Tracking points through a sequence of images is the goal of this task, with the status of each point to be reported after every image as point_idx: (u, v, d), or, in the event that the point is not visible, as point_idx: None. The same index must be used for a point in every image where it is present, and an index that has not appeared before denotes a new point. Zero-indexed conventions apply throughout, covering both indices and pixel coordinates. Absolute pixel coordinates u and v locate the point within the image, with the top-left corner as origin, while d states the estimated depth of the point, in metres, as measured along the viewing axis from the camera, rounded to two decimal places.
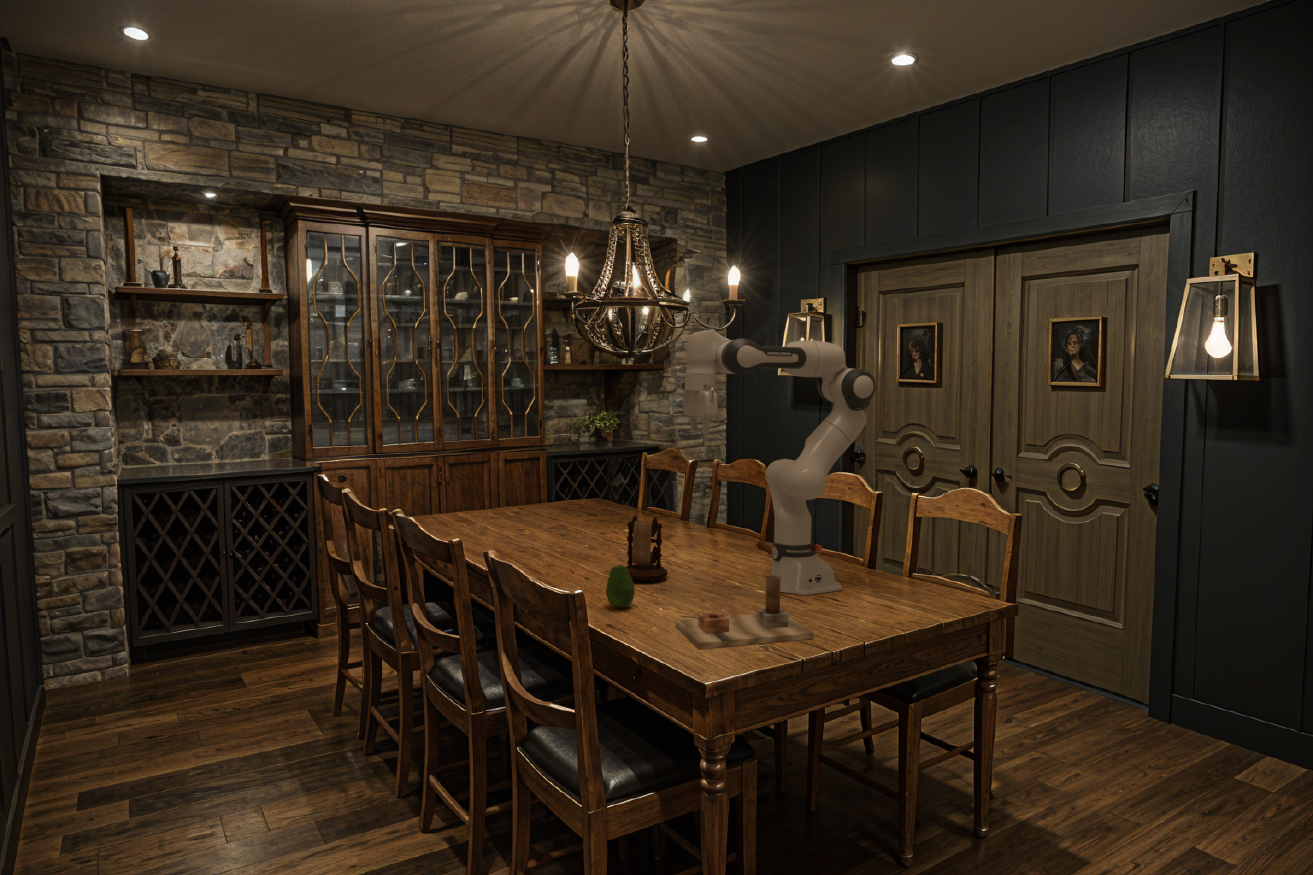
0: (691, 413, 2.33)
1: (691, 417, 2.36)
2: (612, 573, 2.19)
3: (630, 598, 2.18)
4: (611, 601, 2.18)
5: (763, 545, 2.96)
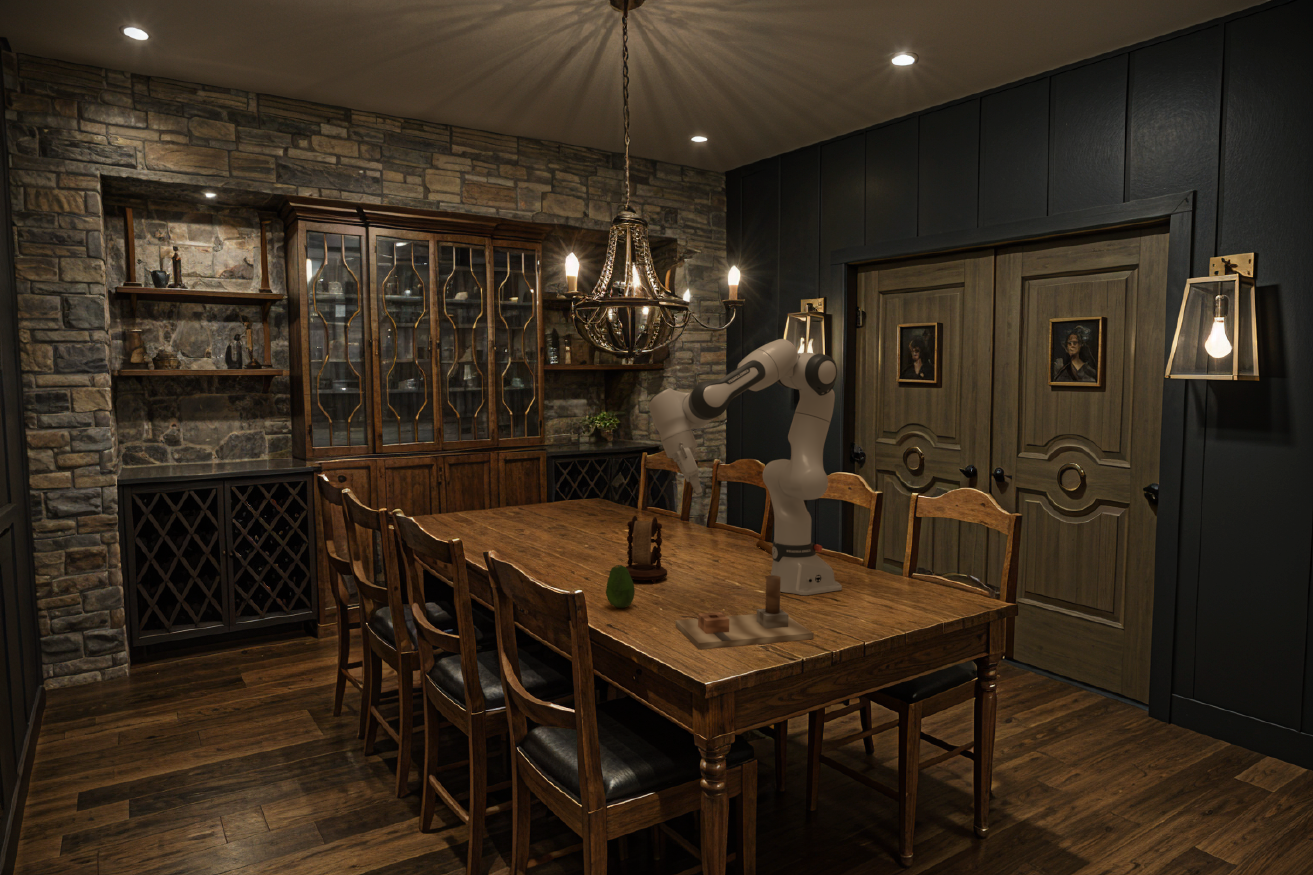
0: None
1: (691, 482, 2.21)
2: (612, 573, 2.19)
3: (630, 598, 2.18)
4: (611, 601, 2.18)
5: (763, 545, 2.96)
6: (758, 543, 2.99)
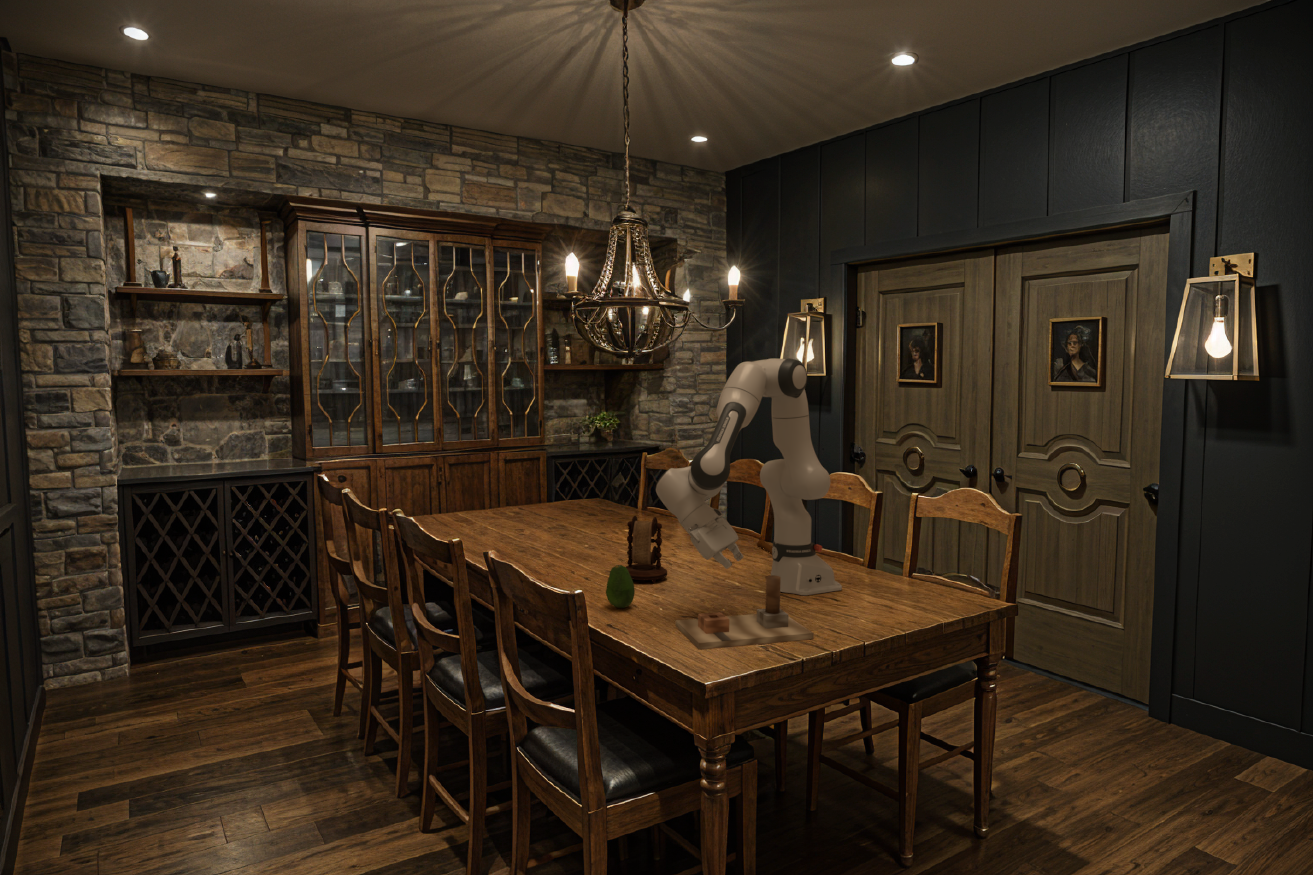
0: None
1: (729, 548, 2.12)
2: (612, 573, 2.19)
3: (630, 598, 2.18)
4: (611, 601, 2.18)
5: (764, 544, 2.97)
6: (759, 543, 3.00)
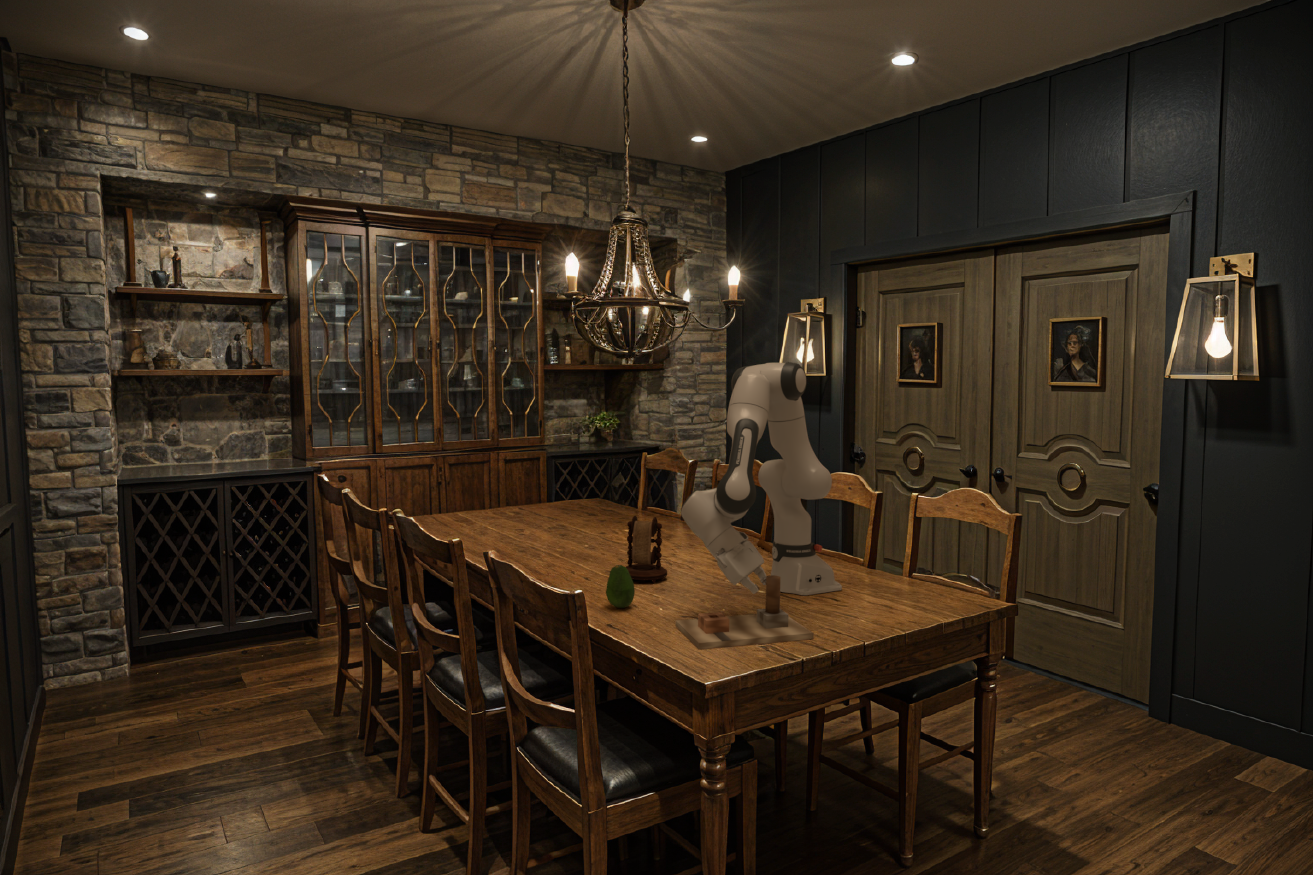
0: None
1: (755, 572, 2.09)
2: (612, 573, 2.19)
3: (630, 598, 2.18)
4: (611, 601, 2.18)
5: (764, 544, 2.97)
6: (759, 543, 3.00)
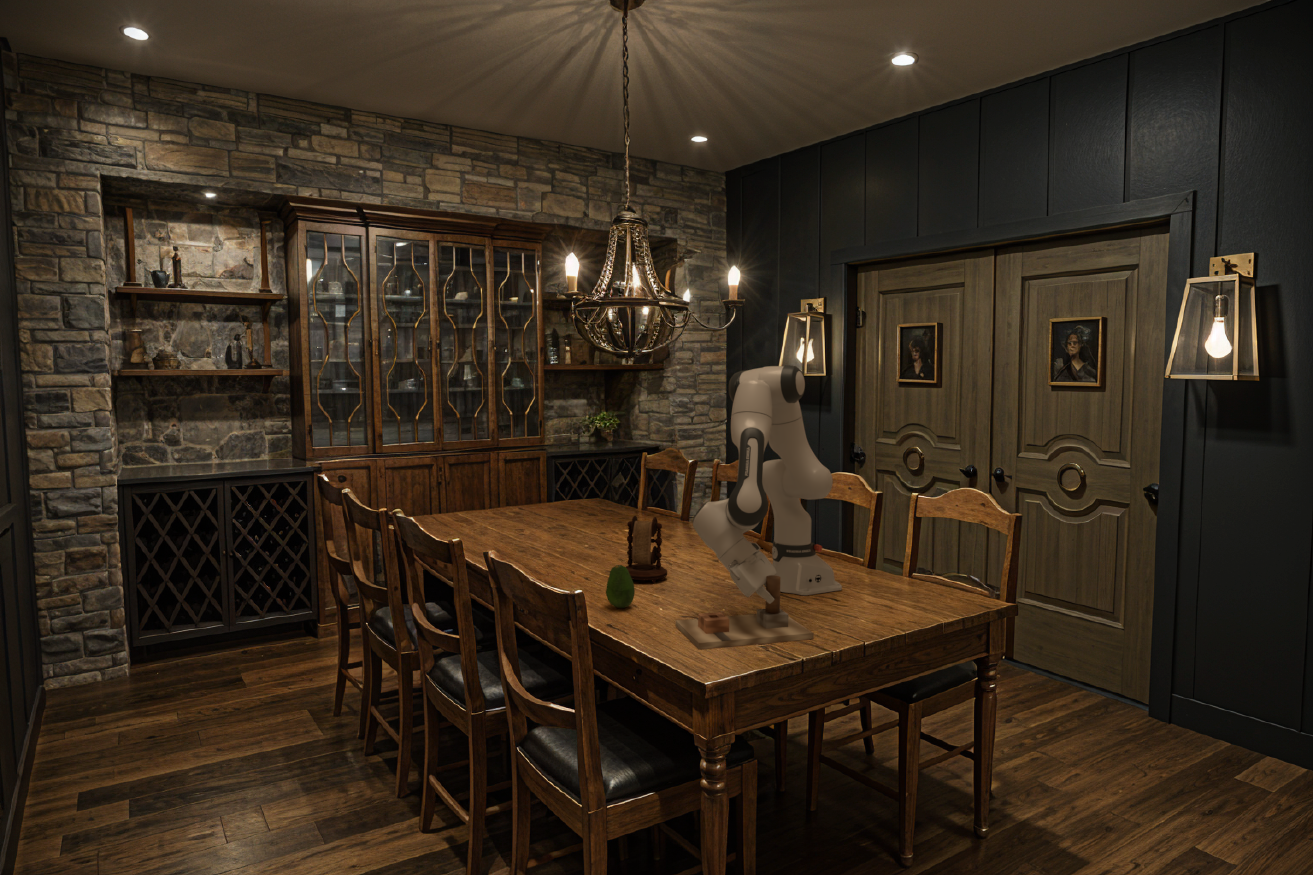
0: None
1: (765, 585, 2.06)
2: (612, 573, 2.19)
3: (630, 598, 2.18)
4: (611, 601, 2.18)
5: (763, 544, 2.97)
6: (757, 542, 3.00)
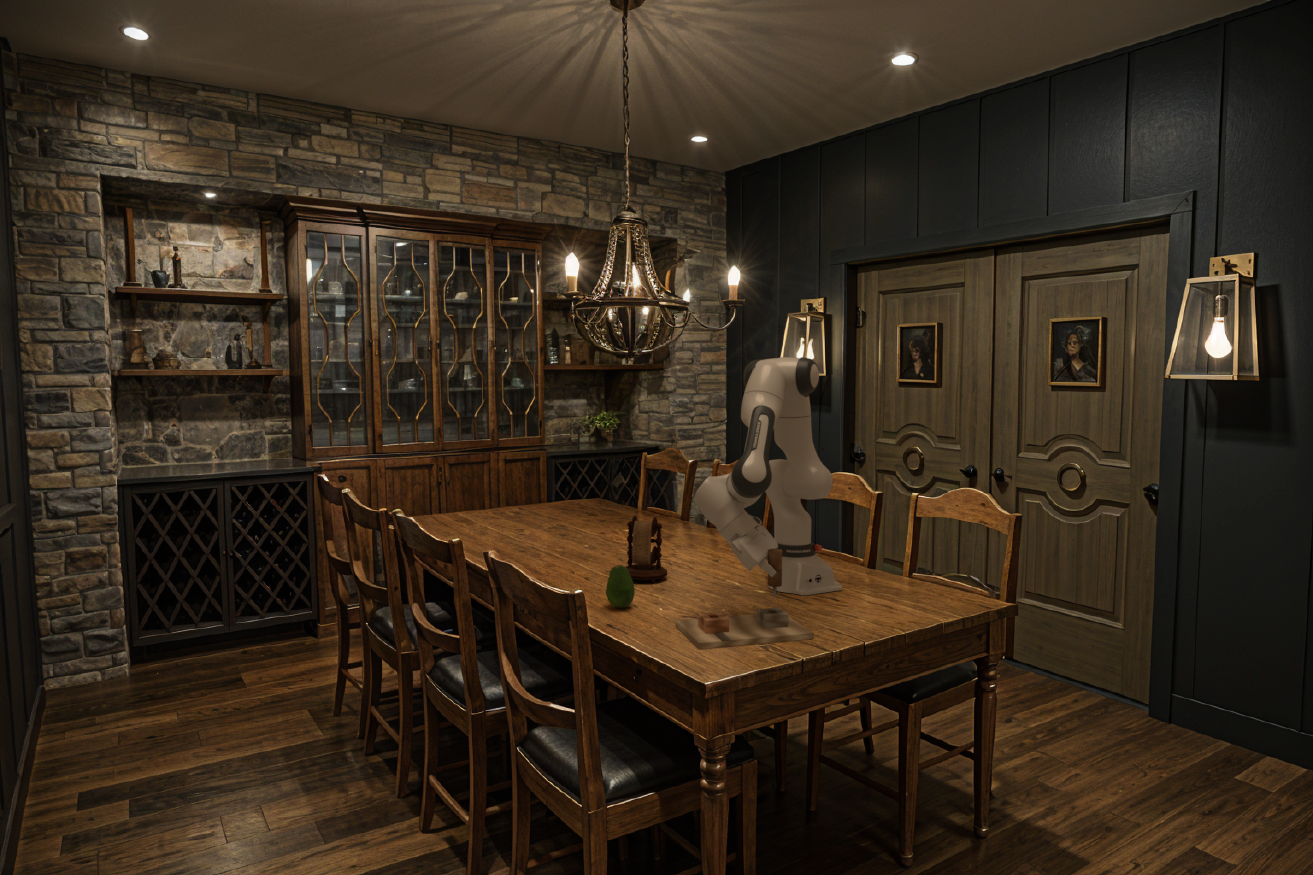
0: None
1: (767, 559, 2.06)
2: (612, 573, 2.19)
3: (630, 598, 2.18)
4: (611, 601, 2.18)
5: None
6: None
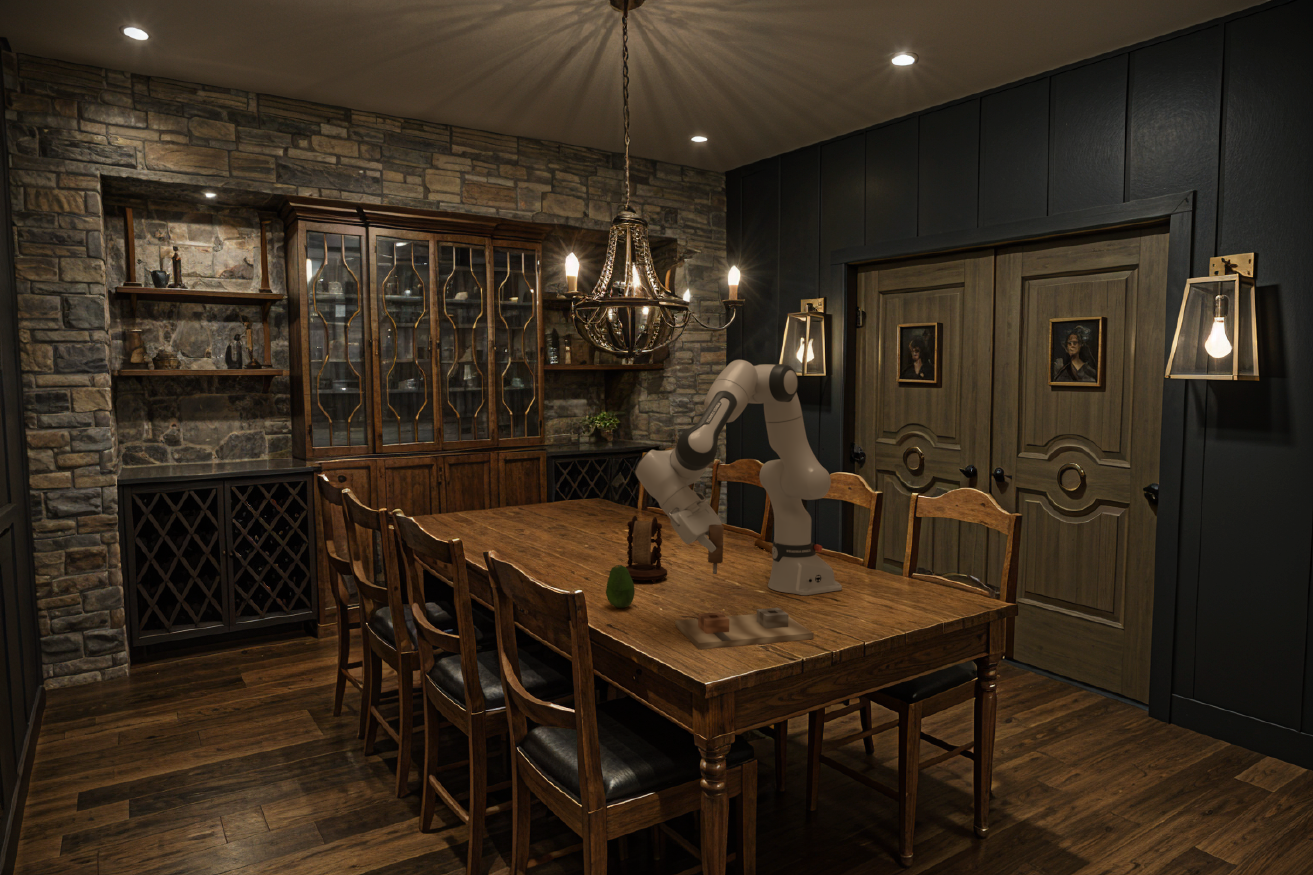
0: None
1: None
2: (612, 573, 2.19)
3: (630, 598, 2.18)
4: (611, 601, 2.18)
5: (762, 544, 2.98)
6: (756, 542, 3.00)
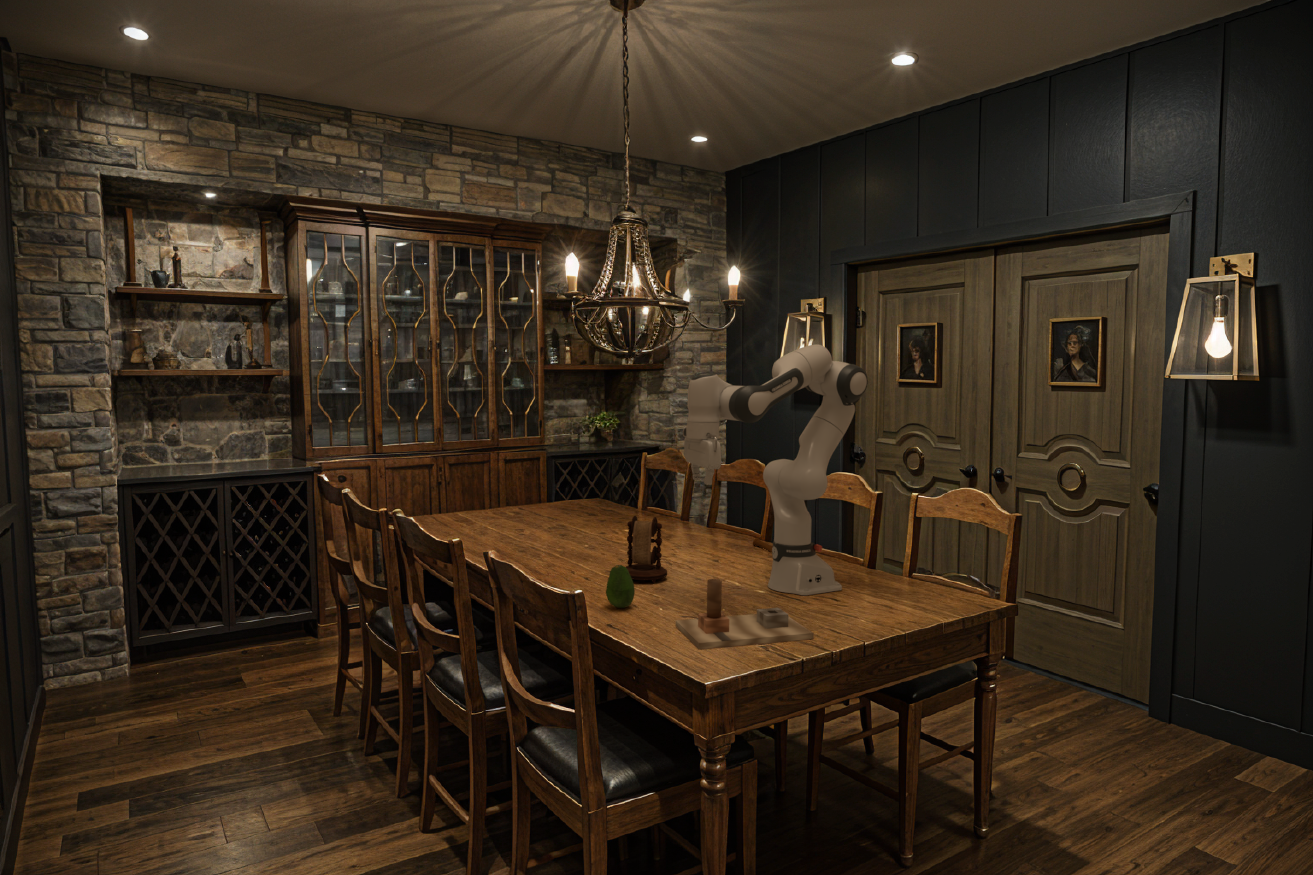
0: (693, 461, 2.22)
1: (693, 465, 2.25)
2: (612, 573, 2.19)
3: (630, 598, 2.18)
4: (611, 601, 2.18)
5: (760, 543, 3.00)
6: (754, 541, 3.02)
